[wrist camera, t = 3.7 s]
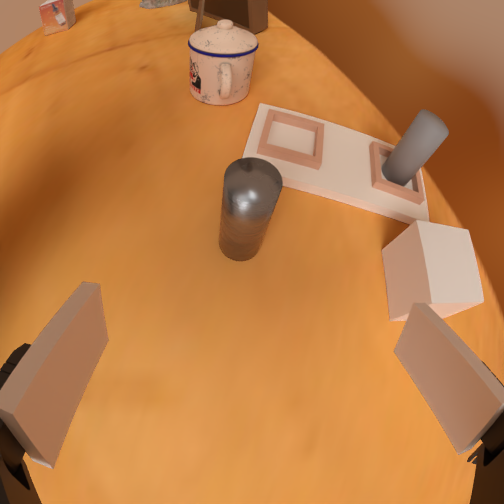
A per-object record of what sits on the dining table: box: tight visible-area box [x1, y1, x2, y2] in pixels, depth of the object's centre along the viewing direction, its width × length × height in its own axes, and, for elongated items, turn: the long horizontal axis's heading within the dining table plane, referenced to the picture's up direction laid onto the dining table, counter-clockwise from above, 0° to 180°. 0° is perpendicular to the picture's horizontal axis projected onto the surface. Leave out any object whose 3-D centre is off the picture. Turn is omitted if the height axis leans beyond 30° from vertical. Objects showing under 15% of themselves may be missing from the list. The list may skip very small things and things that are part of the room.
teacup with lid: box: [188, 20, 258, 105], centre depth 32 cm, size 12×9×12 cm
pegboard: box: [242, 103, 449, 225], centre depth 30 cm, size 24×12×12 cm, turn 78°
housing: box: [382, 220, 484, 321], centre depth 26 cm, size 8×8×7 cm
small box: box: [39, 0, 76, 36], centre depth 43 cm, size 8×6×10 cm
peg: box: [219, 157, 283, 261], centre depth 24 cm, size 4×4×10 cm
